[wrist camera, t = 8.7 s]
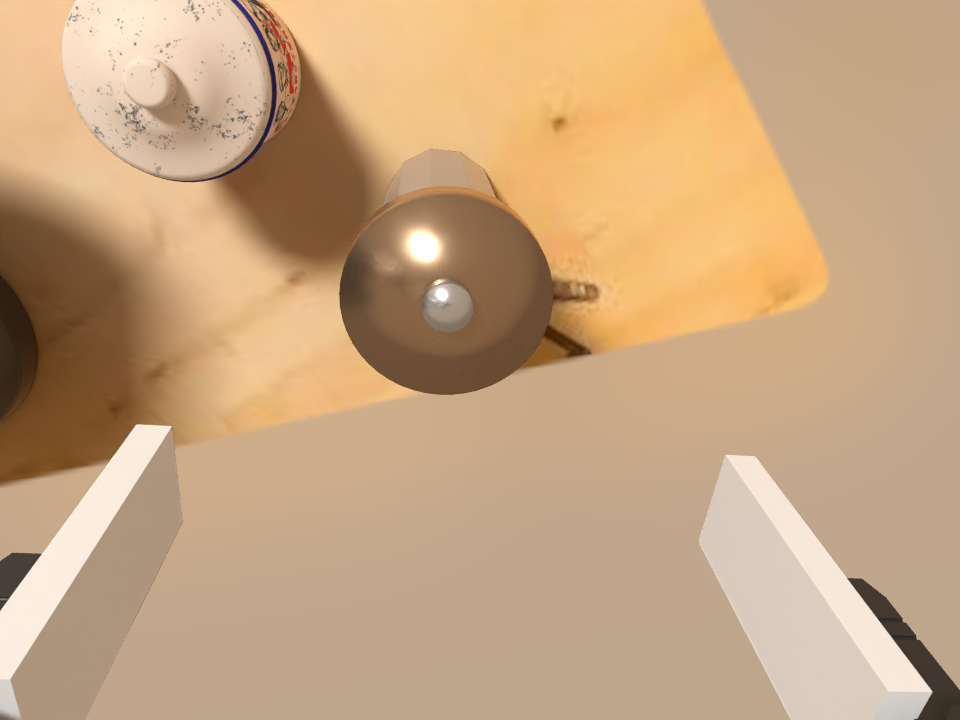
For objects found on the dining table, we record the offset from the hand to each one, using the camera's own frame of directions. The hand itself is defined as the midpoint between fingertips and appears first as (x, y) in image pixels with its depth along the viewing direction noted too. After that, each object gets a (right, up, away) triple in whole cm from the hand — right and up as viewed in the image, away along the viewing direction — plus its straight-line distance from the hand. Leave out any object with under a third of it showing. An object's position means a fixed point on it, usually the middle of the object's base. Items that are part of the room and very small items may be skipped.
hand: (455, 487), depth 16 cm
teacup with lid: (-14, +21, +21) cm, 33 cm away
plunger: (-2, +11, +23) cm, 26 cm away
